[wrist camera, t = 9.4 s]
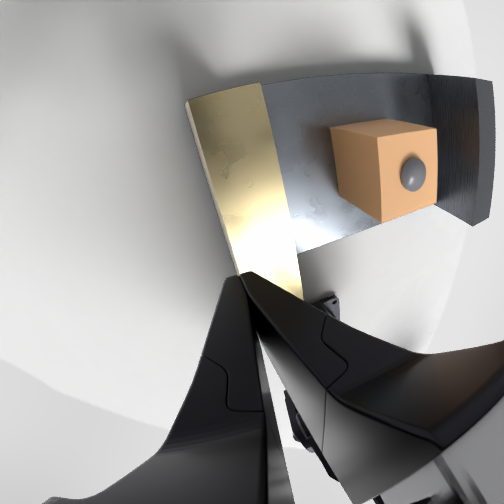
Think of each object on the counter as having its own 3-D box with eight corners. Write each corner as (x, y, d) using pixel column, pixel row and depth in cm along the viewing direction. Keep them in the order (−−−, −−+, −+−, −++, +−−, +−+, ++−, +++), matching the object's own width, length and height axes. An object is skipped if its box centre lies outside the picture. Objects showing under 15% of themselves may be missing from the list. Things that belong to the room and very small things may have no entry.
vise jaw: (278, 263, 20) (304, 304, 16) (238, 277, 20) (256, 322, 16) (236, 90, 14) (260, 82, 10) (185, 104, 14) (187, 100, 10)
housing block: (391, 180, 20) (439, 204, 15) (339, 196, 19) (384, 225, 15) (386, 118, 17) (440, 129, 13) (329, 127, 17) (380, 138, 12)
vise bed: (440, 192, 24) (488, 217, 18) (233, 264, 21) (256, 322, 16) (435, 75, 17) (492, 81, 12) (184, 105, 15) (187, 100, 10)
